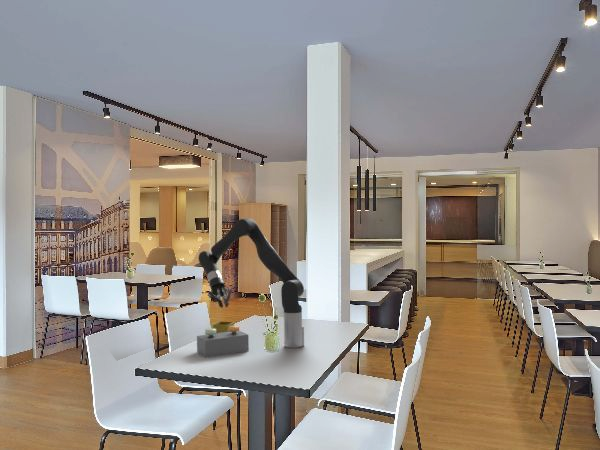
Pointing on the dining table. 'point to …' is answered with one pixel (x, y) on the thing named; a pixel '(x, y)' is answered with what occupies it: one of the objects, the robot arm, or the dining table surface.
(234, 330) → the orange button
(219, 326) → the flower pot
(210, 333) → the sage button
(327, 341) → the dining table surface
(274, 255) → the robot arm
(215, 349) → the block
